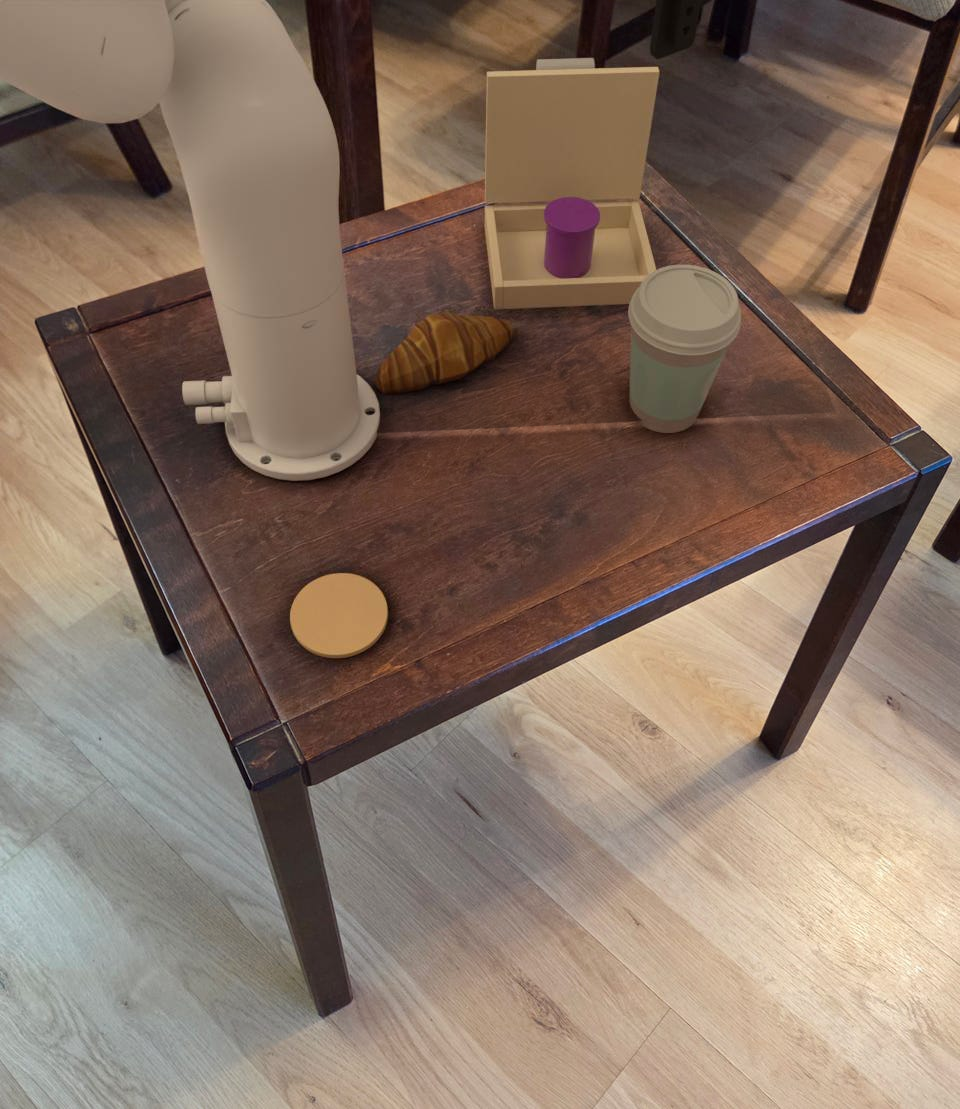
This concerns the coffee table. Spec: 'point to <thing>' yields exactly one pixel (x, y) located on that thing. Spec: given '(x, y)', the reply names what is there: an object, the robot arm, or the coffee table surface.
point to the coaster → (339, 615)
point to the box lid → (567, 131)
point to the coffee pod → (569, 236)
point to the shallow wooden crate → (530, 285)
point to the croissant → (442, 351)
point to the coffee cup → (678, 343)
